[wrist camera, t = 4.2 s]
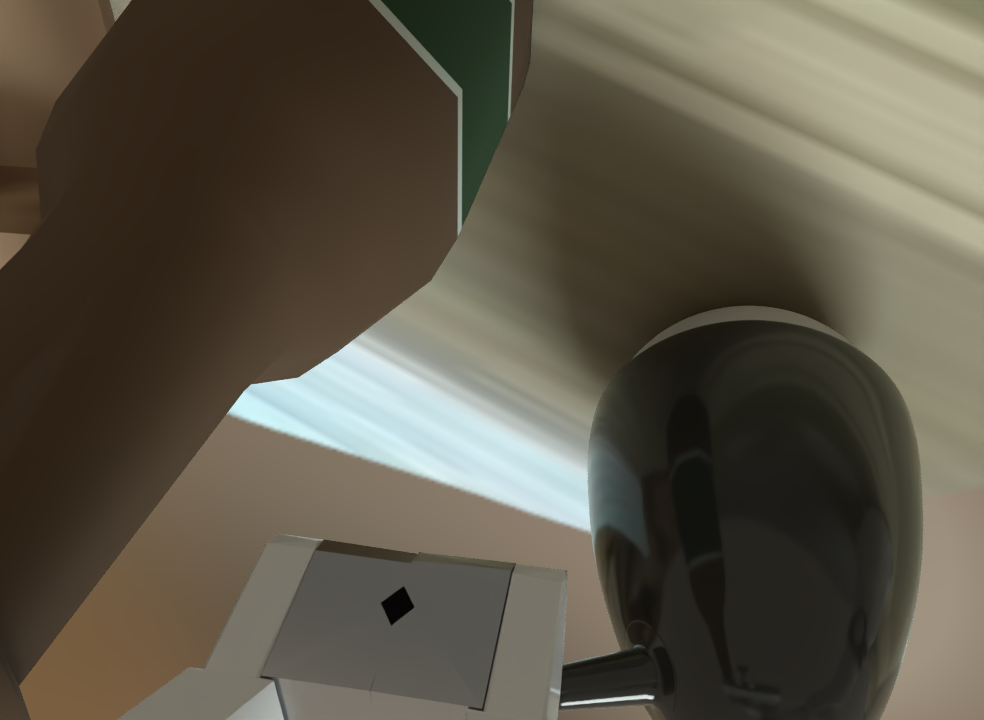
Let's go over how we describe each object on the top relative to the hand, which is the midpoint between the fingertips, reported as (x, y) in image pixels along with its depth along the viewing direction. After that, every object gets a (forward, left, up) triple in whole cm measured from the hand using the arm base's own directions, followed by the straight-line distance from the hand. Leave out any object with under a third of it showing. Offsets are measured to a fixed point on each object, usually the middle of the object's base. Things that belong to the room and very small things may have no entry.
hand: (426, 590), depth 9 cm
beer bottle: (+5, 0, -22) cm, 22 cm away
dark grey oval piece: (-6, +13, -22) cm, 26 cm away
